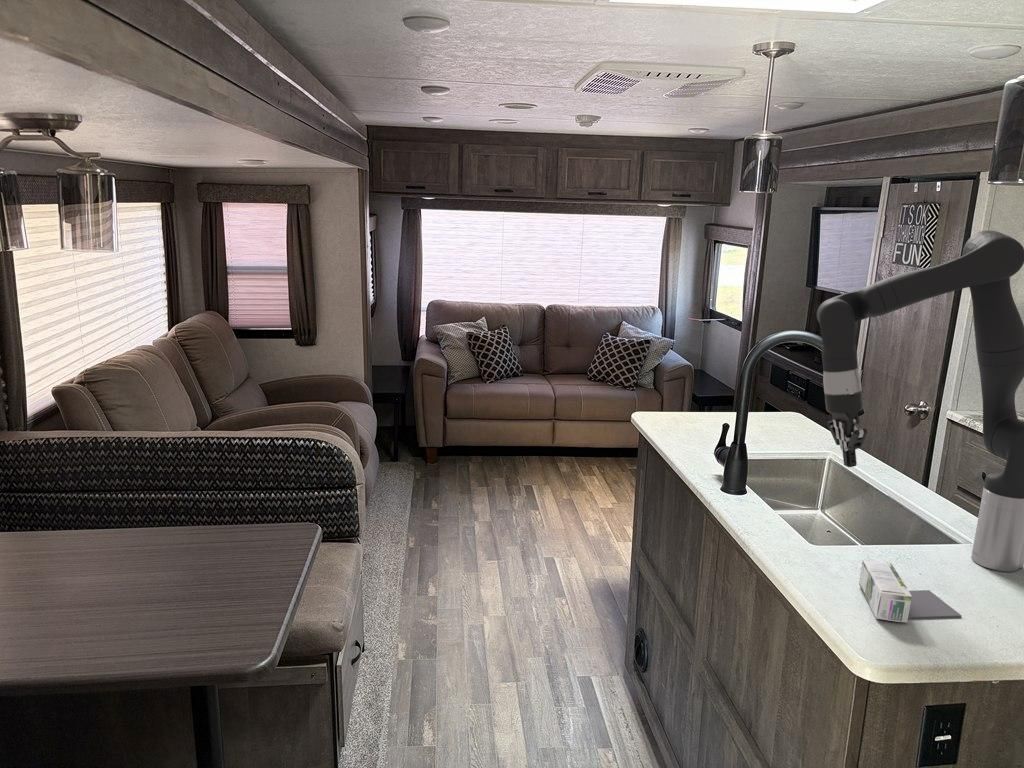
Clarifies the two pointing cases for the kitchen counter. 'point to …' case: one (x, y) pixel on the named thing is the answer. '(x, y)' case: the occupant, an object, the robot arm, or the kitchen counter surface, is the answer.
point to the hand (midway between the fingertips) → (850, 465)
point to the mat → (929, 606)
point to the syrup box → (885, 591)
